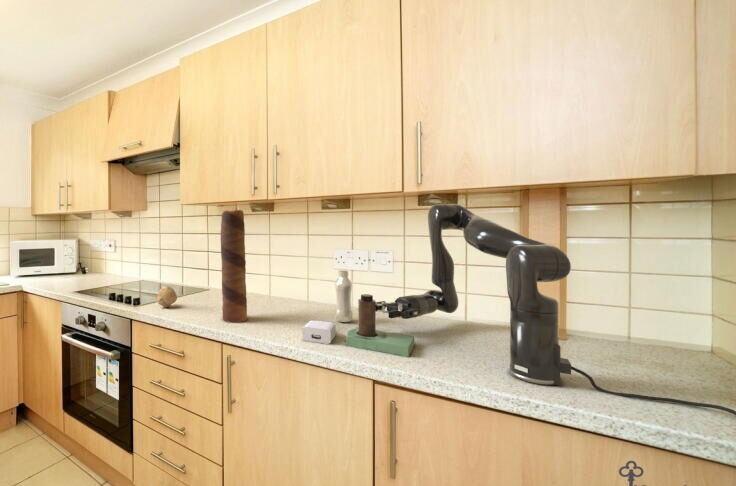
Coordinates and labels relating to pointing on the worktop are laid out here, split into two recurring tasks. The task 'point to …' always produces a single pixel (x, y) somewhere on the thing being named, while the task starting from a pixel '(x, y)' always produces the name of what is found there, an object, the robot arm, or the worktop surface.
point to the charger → (319, 332)
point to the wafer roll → (233, 266)
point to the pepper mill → (367, 316)
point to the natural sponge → (166, 296)
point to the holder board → (382, 342)
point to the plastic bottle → (343, 297)
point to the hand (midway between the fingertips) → (378, 312)
